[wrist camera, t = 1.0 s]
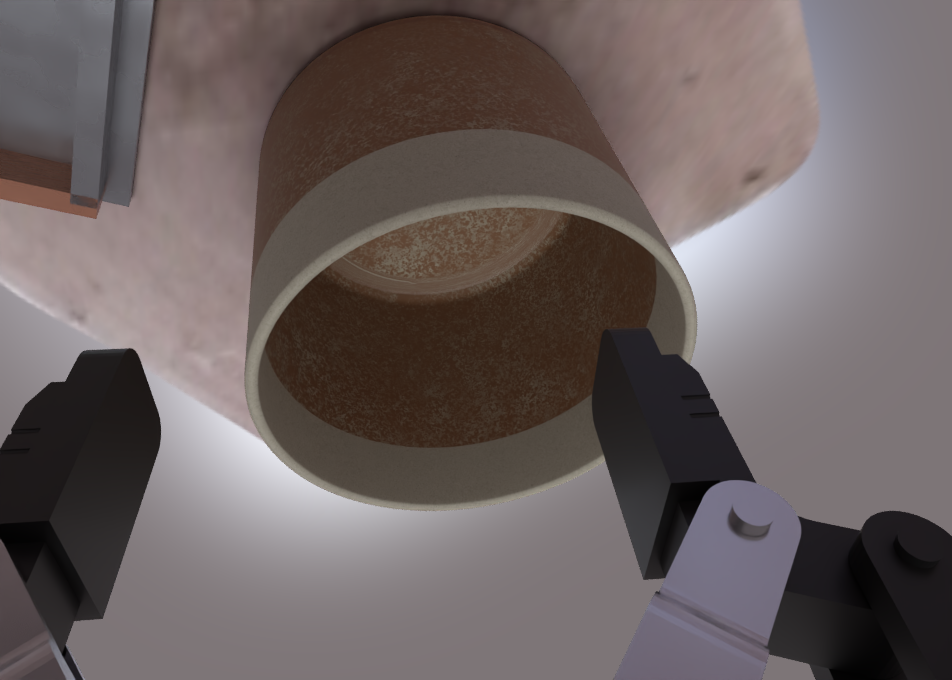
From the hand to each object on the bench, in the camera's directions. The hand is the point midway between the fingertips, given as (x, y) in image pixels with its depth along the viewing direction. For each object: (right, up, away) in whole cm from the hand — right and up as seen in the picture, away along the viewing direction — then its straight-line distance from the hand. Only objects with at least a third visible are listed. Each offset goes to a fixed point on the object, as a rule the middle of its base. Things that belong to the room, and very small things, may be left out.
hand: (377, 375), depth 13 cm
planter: (-1, +9, +22) cm, 24 cm away
